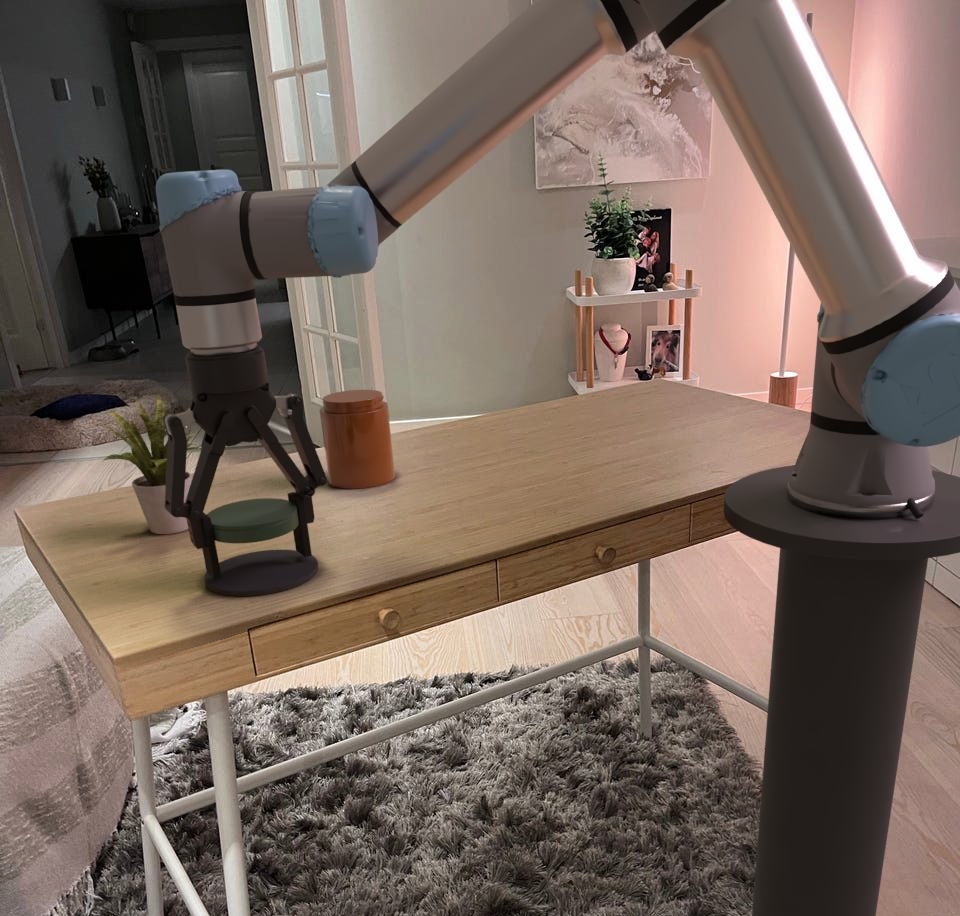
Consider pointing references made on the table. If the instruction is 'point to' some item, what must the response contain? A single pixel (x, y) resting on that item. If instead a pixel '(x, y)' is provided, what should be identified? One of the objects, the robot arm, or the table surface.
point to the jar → (357, 439)
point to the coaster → (262, 573)
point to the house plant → (152, 469)
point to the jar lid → (253, 520)
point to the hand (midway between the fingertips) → (260, 563)
